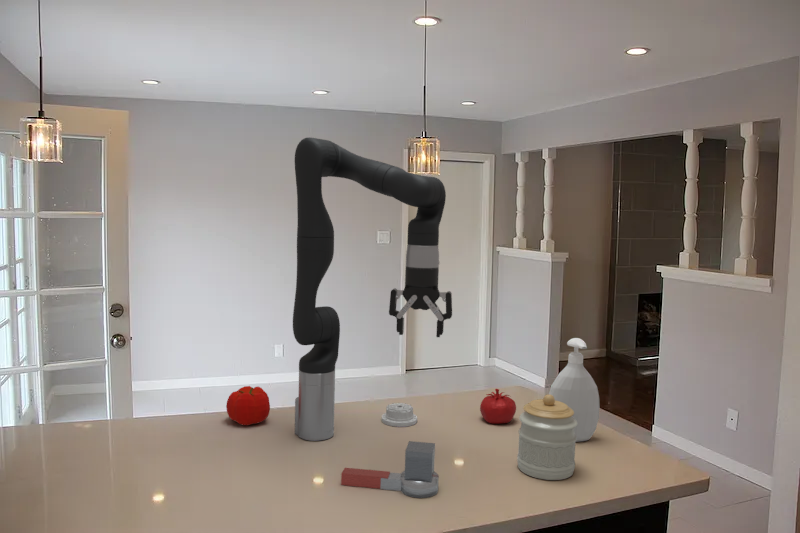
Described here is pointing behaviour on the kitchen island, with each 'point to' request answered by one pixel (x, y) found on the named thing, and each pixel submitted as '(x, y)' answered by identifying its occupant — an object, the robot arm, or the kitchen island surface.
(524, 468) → the jar
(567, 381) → the soap bottle
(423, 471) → the brushed metal cube
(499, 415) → the pomegranate
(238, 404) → the tomato
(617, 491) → the kitchen island surface
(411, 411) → the mechanical component
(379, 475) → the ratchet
